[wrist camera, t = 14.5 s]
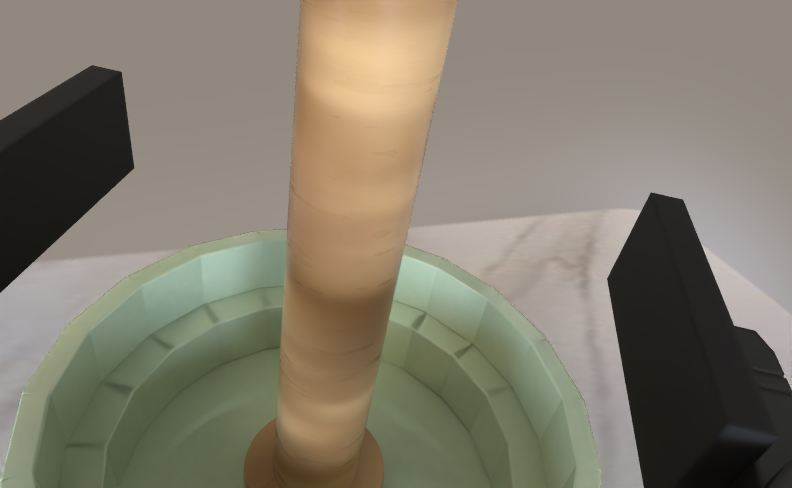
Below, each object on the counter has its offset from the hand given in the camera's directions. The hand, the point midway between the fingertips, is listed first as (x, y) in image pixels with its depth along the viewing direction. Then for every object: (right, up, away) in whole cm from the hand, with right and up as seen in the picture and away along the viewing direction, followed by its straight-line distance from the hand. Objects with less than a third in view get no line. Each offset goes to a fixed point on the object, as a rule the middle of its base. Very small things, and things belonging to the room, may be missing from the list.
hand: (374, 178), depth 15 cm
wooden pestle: (-2, -10, +5) cm, 11 cm away
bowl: (-2, -10, +5) cm, 12 cm away
